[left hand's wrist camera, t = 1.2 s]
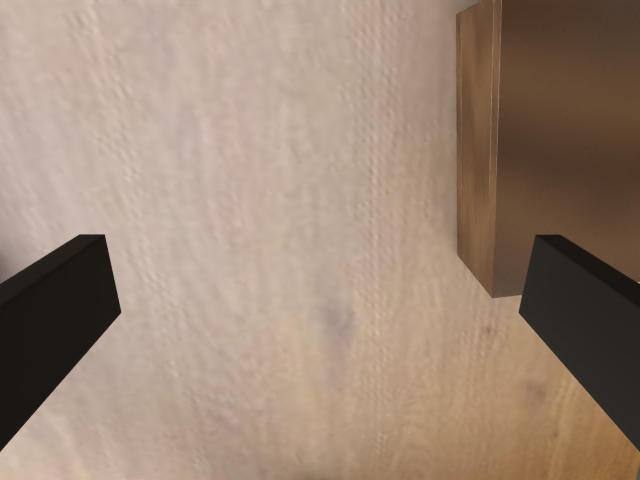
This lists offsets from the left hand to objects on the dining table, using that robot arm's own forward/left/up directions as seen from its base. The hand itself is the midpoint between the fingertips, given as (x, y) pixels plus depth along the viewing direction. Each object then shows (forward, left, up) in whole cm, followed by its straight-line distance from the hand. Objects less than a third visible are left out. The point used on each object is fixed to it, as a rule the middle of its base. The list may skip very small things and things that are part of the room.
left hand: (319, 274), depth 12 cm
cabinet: (+3, -17, -24) cm, 29 cm away
